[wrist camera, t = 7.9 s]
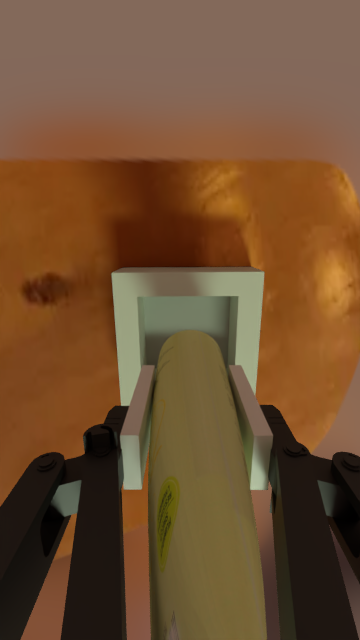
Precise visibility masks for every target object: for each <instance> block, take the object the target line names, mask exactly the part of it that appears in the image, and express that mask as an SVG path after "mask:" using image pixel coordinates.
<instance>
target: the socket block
mask: <svg viewBox="0 0 360 640" xmlns="http://www.w3.org/2000/svg"><path fill="white" fill-rule="evenodd" d="M263 284H264V271H261V270H259V269H256V268H254V267H123V268H120V269H118V270H116V271H114V272H112V286H113V300H114V314H115V327H116V341H117V354H118V368H119V382H120V395H121V406H130V402H131V399H132V396H133V393H134V390H135V387H136V384H137V381H138V378H139V374H140V371H141V368H142V365H155V378H156V371H157V365H158V359H159V355H160V351H161V348H162V346H163V344H164V343H165V342H166V340H167V339H168V338H169V337H171V336H172V335H174V334H175V333H177V332H180V331H184V330H197V331H201V332H204V333H206V334H208V335H209V336H210V337H212V338H213V339H214V340H215V342H216V343H217V344H218V346H219V348H220V350H221V353H222V357H223V360H224V364H225V368H226V372H227V375H228V374H229V365H241V366H242V368H243V370H244V373H245V375H246V377H247V379H248V381H249V384H250V386H251V388H252V390H253V392H254V395H255V392H256V378H257V365H258V351H259V338H260V324H261V311H262V297H263Z"/></svg>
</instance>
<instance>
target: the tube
mask: <svg viewBox="0 0 360 640" xmlns="http://www.w3.org/2000/svg"><path fill="white" fill-rule="evenodd" d="M148 533H149V577H150V578H149V582H150V622H151V640H267V631H266V616H265V601H264V589H263V577H262V568H261V559H260V551H259V543H258V536H257V529H256V522H255V517H254V510H253V504H252V497H251V491H250V484H249V476H248V471H247V465H246V459H245V454H244V448H243V443H242V438H241V433H240V428H239V423H238V418H237V413H236V409H235V404H234V400H233V396H232V391H231V387H230V383H229V379H228V375H227V372H226V368H225V364H224V360H223V357H222V353H221V350H220V348H219V346H218V344H217V343H216V342H215V340H214V339H213V338H212V337H210V336H209V335H208V334H206V333H204V332H201V331H197V330H184V331H180V332H177V333H175V334H174V335H172V336H171V337H169V338H168V339H167V340H166V342H165V343H164V344H163V346H162V348H161V351H160V355H159V359H158V365H157V371H156V378H155V385H154V394H153V403H152V415H151V427H150V445H149V472H148Z"/></svg>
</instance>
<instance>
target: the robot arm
mask: <svg viewBox="0 0 360 640" xmlns="http://www.w3.org/2000/svg"><path fill="white" fill-rule="evenodd" d="M228 379H229V383H230V387H231V391H232V396H233V400H234V404H235V409H236V413H237V418H238V423H239V428H240V433H241V438H242V443H243V448H244V454H245V459H246V465H247V471H248V476H249V484H250V490H268V483H269V481H270V484H271V487H272V494H271V505H270V513H272V519H273V534H274V549H275V564H276V580H277V594H278V608H279V609H278V610H279V625H280V640H359V638H358V634H357V630H356V626H355V622H354V619H353V615H352V611H351V607H350V603H349V599H348V596H347V592H346V588H345V584H344V581H343V576H342V573H341V569H340V565H339V561H338V557H337V554H336V550H335V546H334V542H333V538H332V534H331V531H330V527H331V529H332V531H333V533H334V535H335V537H336V539H337V541H338V543H339V544H340V546H341V548H342V550H343V552H344V554H345V556H346V558H347V560H348V562H349V564H350V566H351V568H352V570H353V572H354V573H355V576H356V577H357V579H358V581H359V583H360V457H359V456H357V455H355V454H352V453H348V452H337V453H335V454H334V455H333V458H332V460H329V459H325V458H320V457H317V456H314V455H311V454H310V452H309V450H308V449H307V448H306V447H305V446H304V445H302V444H300V443H298V442H297V441H296V439H295V438H294V436H293V434H292V432H291V430H290V429H289V427H288V425H287V424H286V422H285V420H284V419H283V416H282V414H281V413H280V411H279V410H278V409H277V408H275V407H274V406H273V405H259V403H258V401H257V399H256V397H255V395H254V392H253V390H252V388H251V386H250V384H249V381H248V379H247V377H246V375H245V373H244V370H243V368H242V366H241V365H229V374H228ZM154 385H155V365H142V368H141V371H140V374H139V378H138V381H137V384H136V387H135V390H134V393H133V396H132V399H131V402H130V406H114V407H113V408H112V409H111V410H110V411H109V412H108V415H107V417H106V419H105V422H104V424H99V425H95V426H93V427H91V428H89V429H88V430H87V431H86V432H85V433H84V435H83V441H84V449H85V454H84V455H82V456H79V457H76V458H72V459H67V460H65V459H64V456H63V455H62V454H60V453H57V452H51V453H46V454H43V455H40V456H39V457H37V458H36V459H34V460H33V461H32V462H31V463H30V465H29V466H28V468H27V469H26V471H25V472H24V473H23V475H22V476H21V478H20V479H19V481H18V482H17V484H16V485H15V487H14V488H13V489H12V491H11V492H10V494H9V495H8V497H7V498H6V500H5V501H4V503H3V504H2V505H1V507H0V640H20V639H21V637H22V634H23V632H24V629H25V627H26V625H27V622H28V620H29V617H30V615H31V612H32V610H33V608H34V605H35V603H36V600H37V597H38V595H39V593H40V590H41V588H42V586H43V583H44V580H45V578H46V576H47V573H48V571H49V568H50V566H51V563H52V561H53V559H54V556H55V554H56V551H57V549H58V547H59V544H60V542H61V539H62V537H63V534H64V532H65V529H66V527H67V525H68V522H69V520H70V517H71V515H72V514H75V513H77V518H76V526H75V534H74V541H73V549H72V557H71V564H70V572H69V580H68V587H67V595H66V603H65V611H64V618H63V625H62V633H61V640H127V634H126V603H125V578H124V577H125V574H124V548H123V547H124V545H123V516H122V493H121V488H122V484H123V482H124V489H142V485H143V479H144V472H145V466H146V460H147V454H148V448H149V442H150V427H151V415H152V403H153V394H154ZM329 525H330V527H329Z"/></svg>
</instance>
